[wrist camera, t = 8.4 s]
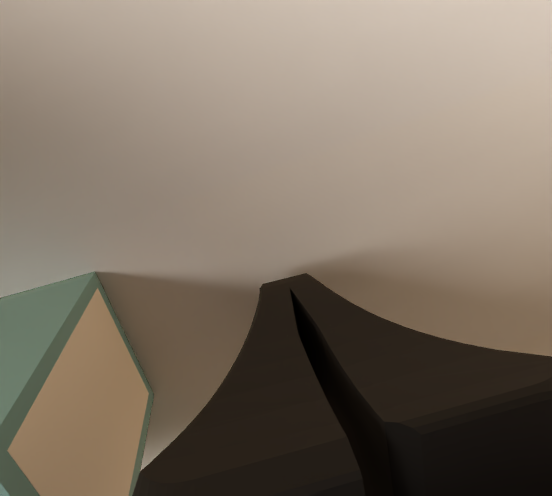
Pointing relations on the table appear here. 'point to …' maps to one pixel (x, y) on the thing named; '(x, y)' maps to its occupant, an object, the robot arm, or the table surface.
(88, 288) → the book
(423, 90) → the table surface
